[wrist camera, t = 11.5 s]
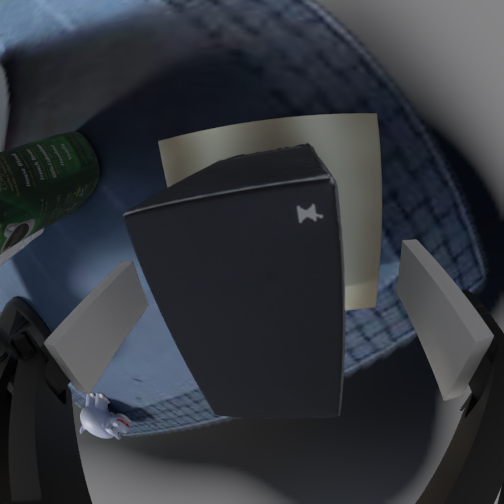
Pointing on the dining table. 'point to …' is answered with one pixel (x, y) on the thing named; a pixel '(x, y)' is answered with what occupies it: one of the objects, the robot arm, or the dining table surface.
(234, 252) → the small box
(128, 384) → the dining table surface
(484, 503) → the robot arm
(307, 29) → the dining table surface
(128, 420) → the hippopotamus toy
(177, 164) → the plinth
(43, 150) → the coffee jar
